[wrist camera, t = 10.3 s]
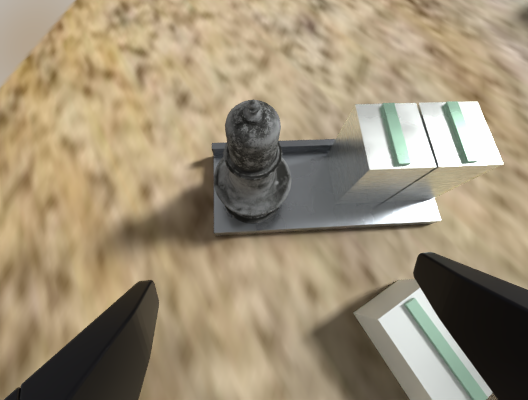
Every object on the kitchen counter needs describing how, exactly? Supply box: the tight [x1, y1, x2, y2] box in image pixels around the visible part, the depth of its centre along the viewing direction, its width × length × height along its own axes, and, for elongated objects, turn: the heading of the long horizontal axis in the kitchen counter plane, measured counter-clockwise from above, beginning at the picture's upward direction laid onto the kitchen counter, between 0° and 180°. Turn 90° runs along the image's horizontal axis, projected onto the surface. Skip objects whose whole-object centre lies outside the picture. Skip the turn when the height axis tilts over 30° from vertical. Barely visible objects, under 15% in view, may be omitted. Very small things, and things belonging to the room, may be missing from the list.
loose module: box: [353, 279, 493, 400], centre depth 18 cm, size 7×5×5 cm
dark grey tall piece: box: [214, 100, 291, 224], centre depth 17 cm, size 6×6×12 cm
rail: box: [212, 102, 503, 236], centre depth 20 cm, size 8×20×8 cm, turn 94°
